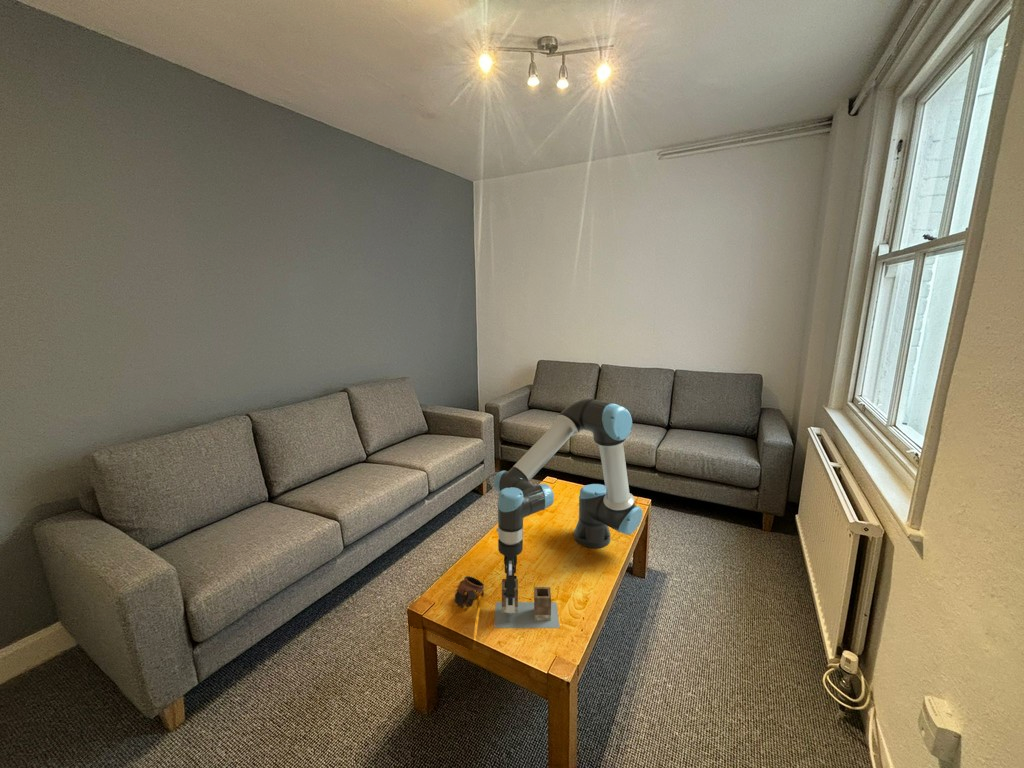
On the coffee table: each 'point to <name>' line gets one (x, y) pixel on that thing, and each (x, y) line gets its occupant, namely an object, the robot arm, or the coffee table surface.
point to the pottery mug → (468, 591)
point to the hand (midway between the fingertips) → (510, 605)
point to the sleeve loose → (505, 596)
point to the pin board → (524, 617)
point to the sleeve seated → (542, 603)
